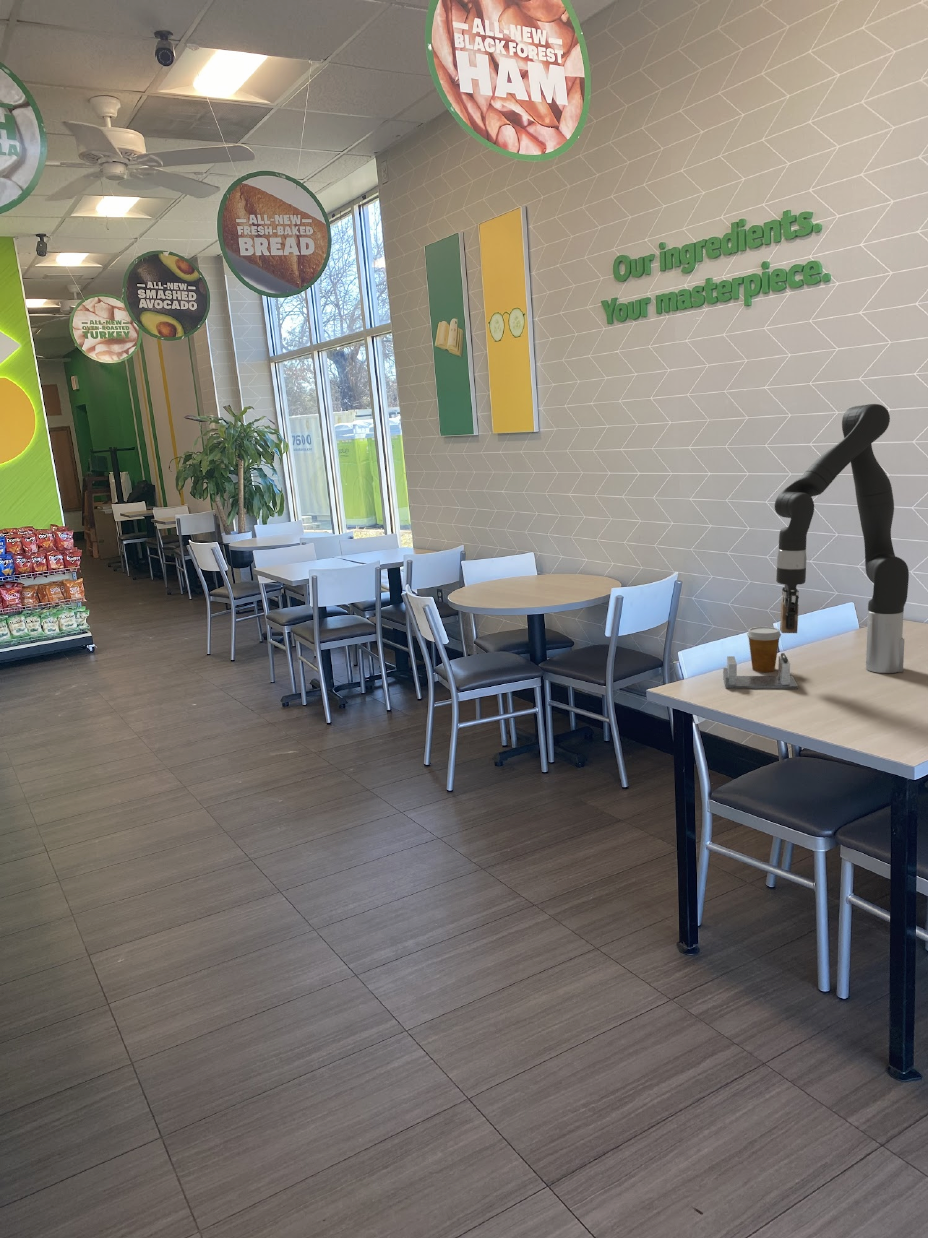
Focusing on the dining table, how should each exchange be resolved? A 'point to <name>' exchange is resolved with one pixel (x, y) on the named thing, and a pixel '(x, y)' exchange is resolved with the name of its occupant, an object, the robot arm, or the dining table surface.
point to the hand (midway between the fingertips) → (788, 626)
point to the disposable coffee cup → (763, 648)
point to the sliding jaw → (784, 670)
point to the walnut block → (783, 620)
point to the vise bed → (751, 679)
